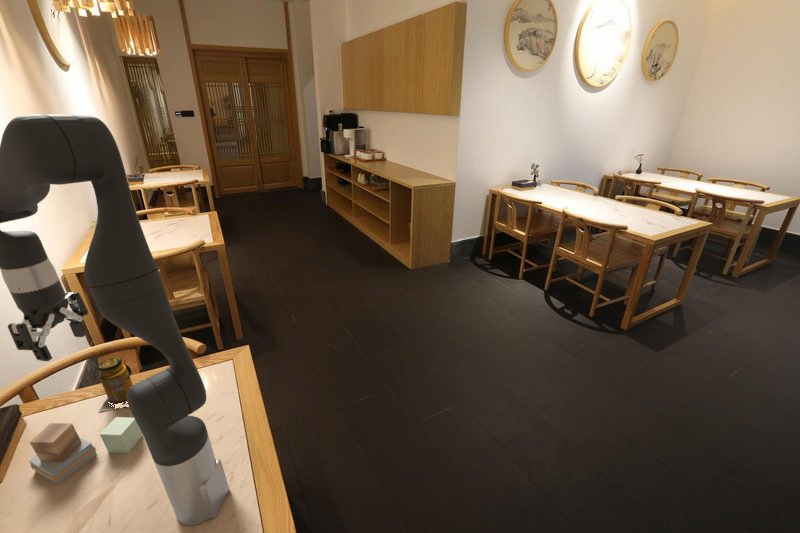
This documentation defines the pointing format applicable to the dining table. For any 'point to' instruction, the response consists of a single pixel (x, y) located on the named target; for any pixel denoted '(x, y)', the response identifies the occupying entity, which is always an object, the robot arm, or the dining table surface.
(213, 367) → the dining table surface
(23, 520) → the dining table surface
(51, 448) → the walnut block
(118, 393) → the condiment
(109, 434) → the sage block
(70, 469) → the slate base
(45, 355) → the robot arm
